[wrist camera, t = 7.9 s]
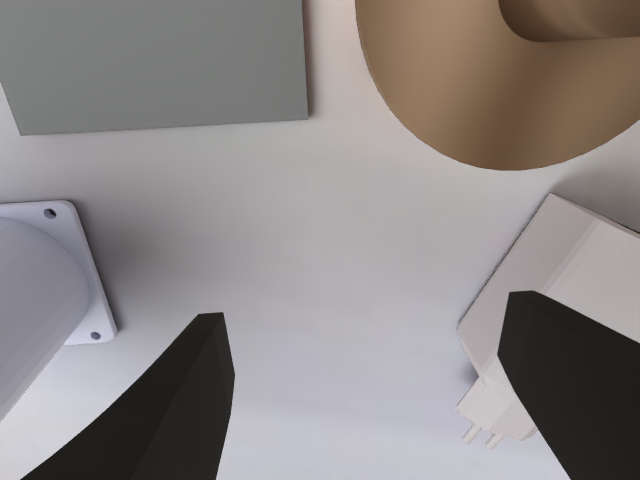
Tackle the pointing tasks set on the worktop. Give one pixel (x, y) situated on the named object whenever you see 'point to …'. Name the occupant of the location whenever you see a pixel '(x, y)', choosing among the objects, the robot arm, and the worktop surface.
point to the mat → (151, 63)
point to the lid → (506, 74)
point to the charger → (557, 283)
